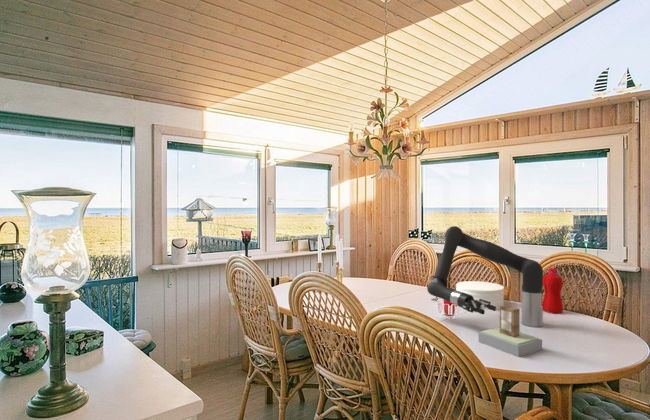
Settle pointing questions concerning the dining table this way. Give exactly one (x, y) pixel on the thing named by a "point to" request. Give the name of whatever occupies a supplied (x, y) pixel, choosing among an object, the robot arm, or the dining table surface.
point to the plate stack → (483, 292)
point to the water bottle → (552, 292)
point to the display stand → (510, 342)
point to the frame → (509, 321)
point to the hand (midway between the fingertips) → (489, 310)
